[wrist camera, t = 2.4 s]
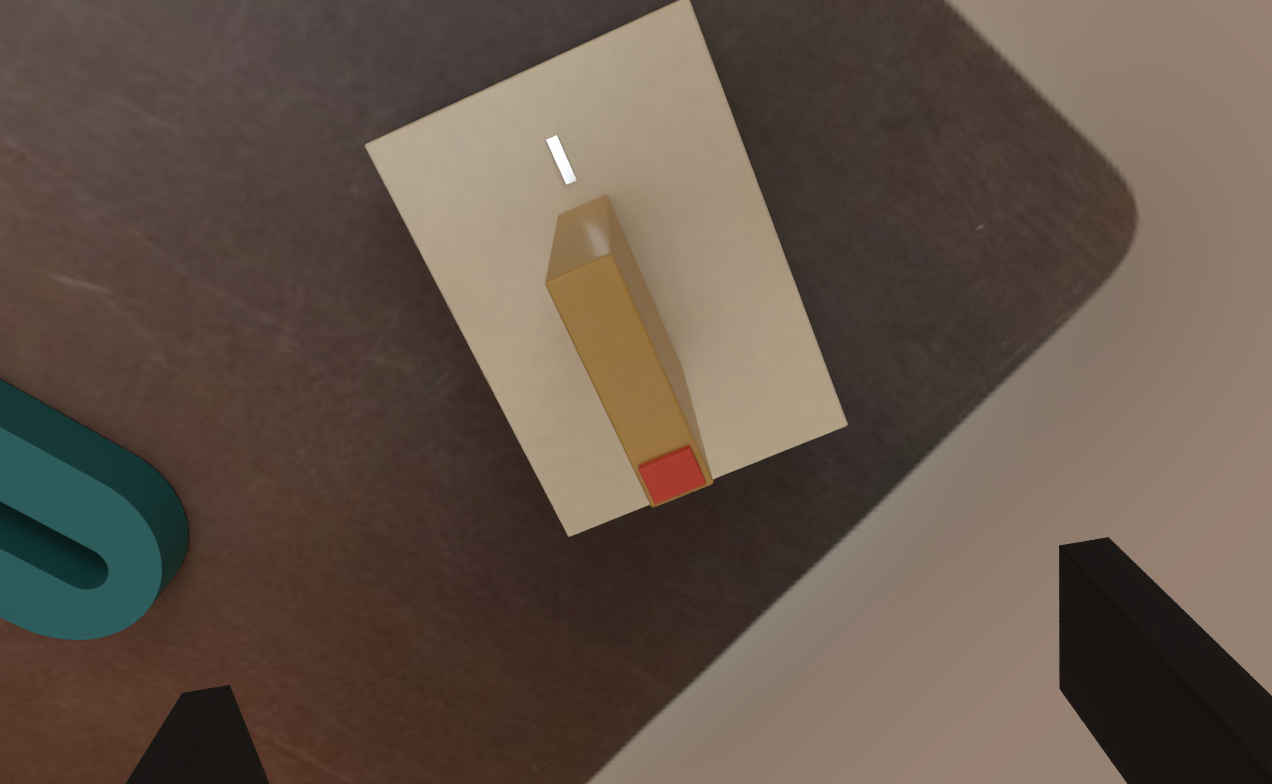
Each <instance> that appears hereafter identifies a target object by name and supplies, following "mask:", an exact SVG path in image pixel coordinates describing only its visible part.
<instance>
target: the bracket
mask: <svg viewBox="0 0 1272 784" xmlns="http://www.w3.org/2000/svg"><path fill="white" fill-rule="evenodd" d="M187 546H188V524H187V519H186V515H185V512H184V509H183V507H182V505H181V502H180V500H179V498H178V497H177V495H176V493H175V492H174V490H173V489H172V487H171V486H170V485H169V483H168V482H167V481H166V480H165V479H164V478H163V477H162V476H161V474H159V473H158V472H157V471H156V470H155V469H154V468H153V467H152V466H150V465H149V464H148V463H146V462H145V461H144V460H142V459H140V458H139V457H137V456H136V455H134V454H132V453H130V452H129V451H127V450H125V449H123V448H121V447H120V446H118V445H116V444H114V443H113V442H111V441H109V440H107V439H105V438H104V437H102V436H100V435H98V434H97V433H95V432H93V431H91V430H89V429H88V428H86V427H84V426H82V425H81V424H79V423H77V422H75V421H73V420H72V419H70V418H68V417H66V416H65V415H63V414H61V413H59V412H58V411H56V410H54V409H52V408H50V407H49V406H47V405H45V404H43V403H42V402H40V401H38V400H36V399H34V398H33V397H31V396H29V395H27V394H26V393H24V392H22V391H20V390H18V389H17V388H15V387H13V386H11V385H10V384H8V383H6V382H4V381H2V380H1V379H0V617H1V618H3V619H5V620H7V621H9V622H11V623H13V624H15V625H17V626H19V627H21V628H24V629H26V630H28V631H31V632H34V633H37V634H40V635H44V636H48V637H53V638H58V639H67V640H86V639H95V638H100V637H105V636H108V635H112V634H114V633H117V632H119V631H121V630H123V629H125V628H127V627H129V626H130V625H132V624H133V623H135V622H136V621H137V620H138V619H139V618H141V617H142V616H143V615H144V614H145V613H146V611H147V610H148V609H149V608H150V607H151V605H152V604H153V603H154V601H155V600H156V599H157V597H158V596H159V595H160V594H161V592H162V591H163V590H164V588H165V587H166V586H167V585H168V583H169V582H170V581H171V579H172V578H173V577H174V576H175V574H176V573H177V571H178V570H179V568H180V567H181V565H182V562H183V560H184V558H185V555H186V552H187Z"/></svg>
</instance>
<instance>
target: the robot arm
mask: <svg viewBox="0 0 1272 784" xmlns="http://www.w3.org/2000/svg"><path fill="white" fill-rule="evenodd" d="M1059 643H1060V644H1059V649H1060V650H1059V652H1060V655H1059V656H1060V657H1059V658H1060V659H1059V660H1060V661H1059V662H1060V664H1059V666H1060V667H1059V669H1060V670H1059V671H1060V673H1059V674H1060V690H1061V691H1062V693H1063V694H1064V696H1065V697H1066V699H1067V700H1068V701H1069V703H1070V704H1071V706H1072V707H1073V708H1074V710H1075V711H1076V712H1077V714H1078V715H1079V717H1080V718H1081V720H1082V721H1083V722H1084V723H1085V725H1086V726H1087V728H1088V729H1089V731H1090V732H1091V733H1092V735H1093V736H1094V737H1095V739H1096V741H1097V742H1098V743H1099V745H1100V746H1101V748H1102V749H1103V750H1104V752H1105V753H1106V755H1107V756H1108V757H1109V759H1110V760H1111V762H1112V763H1113V764H1114V766H1115V767H1116V769H1117V770H1118V771H1119V773H1120V774H1121V775H1122V777H1123V778H1124V780H1125V781H1126V782H1127V784H1272V696H1271V695H1270V694H1269V693H1268V692H1267V691H1266V690H1265V689H1264V688H1263V687H1262V686H1261V685H1260V684H1259V683H1258V682H1257V681H1256V680H1255V679H1254V678H1253V677H1252V676H1250V674H1249V673H1248V672H1247V671H1245V669H1243V668H1242V667H1241V666H1240V665H1239V664H1238V663H1237V662H1236V661H1235V660H1234V659H1233V658H1232V657H1231V656H1230V655H1229V654H1228V653H1227V652H1226V651H1225V650H1224V649H1223V648H1222V647H1221V646H1220V645H1219V644H1218V643H1217V642H1216V641H1215V640H1213V638H1211V636H1209V634H1207V633H1206V632H1205V631H1204V630H1203V629H1202V628H1201V627H1200V626H1199V625H1198V624H1197V623H1196V622H1195V621H1194V620H1193V619H1192V618H1191V617H1190V616H1189V615H1188V614H1187V613H1186V612H1185V611H1184V610H1183V609H1182V608H1181V607H1180V606H1179V605H1178V604H1177V603H1175V601H1173V599H1171V598H1170V597H1169V596H1168V595H1167V594H1166V593H1165V592H1164V591H1163V590H1162V589H1161V588H1160V587H1159V586H1158V585H1157V584H1156V583H1155V582H1154V581H1153V580H1152V579H1151V578H1150V577H1149V576H1148V575H1147V574H1146V573H1145V572H1144V571H1143V570H1141V568H1140V567H1139V566H1137V564H1135V563H1134V562H1133V561H1132V560H1131V559H1130V558H1129V557H1128V556H1127V555H1126V554H1125V553H1124V552H1123V551H1122V550H1121V549H1120V548H1119V547H1118V546H1117V545H1116V544H1115V543H1114V542H1113V541H1112V540H1111V539H1110V538H1109V537H1107V538H1101V539H1095V540H1089V541H1084V542H1077V543H1071V544H1066V545H1059ZM126 784H269V782H268V779H267V777H266V774H265V772H264V769H263V767H262V764H261V762H260V759H259V757H258V754H257V752H256V749H255V747H254V744H253V742H252V739H251V737H250V734H249V732H248V729H247V727H246V724H245V722H244V719H243V717H242V714H241V712H240V709H239V707H238V704H237V702H236V699H235V697H234V694H233V692H232V689H231V687H230V685H227V686H221V687H215V688H209V689H203V690H197V691H191V692H185V693H182V694H181V696H180V697H179V699H178V701H177V702H176V704H175V705H174V707H173V709H172V710H171V712H170V713H169V715H168V717H167V718H166V720H165V721H164V723H163V725H162V726H161V728H160V729H159V731H158V733H157V734H156V736H155V737H154V739H153V741H152V742H151V744H150V745H149V747H148V749H147V750H146V752H145V753H144V755H143V757H142V758H141V760H140V762H139V763H138V765H137V766H136V768H135V770H134V771H133V773H132V774H131V776H130V778H129V779H128V781H127V782H126Z"/></svg>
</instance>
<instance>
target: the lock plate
mask: <svg viewBox="0 0 1272 784" xmlns="http://www.w3.org/2000/svg"><path fill="white" fill-rule="evenodd" d="M365 148H366V150H367V151H368V153H369V155H370V157H371V159H372V161H373V163H374V165H375V167H376V169H377V171H378V173H379V174H380V176H381V178H382V180H383V182H384V184H385V186H386V188H387V190H388V192H389V194H390V196H391V197H392V199H393V201H394V203H395V205H396V207H397V209H398V211H399V213H400V215H401V217H402V219H403V220H404V222H405V224H406V226H407V228H408V230H409V232H410V234H411V236H412V238H413V240H414V242H415V244H416V245H417V247H418V249H419V251H420V253H421V255H422V257H423V259H424V261H425V263H426V265H427V267H428V268H429V270H430V272H431V274H432V276H433V278H434V280H435V282H436V284H437V286H438V288H439V290H440V291H441V293H442V295H443V297H444V299H445V301H446V303H447V305H448V307H449V309H450V311H451V313H452V314H453V316H454V318H455V320H456V322H457V324H458V326H459V328H460V330H461V332H462V334H463V336H464V337H465V339H466V341H467V343H468V345H469V347H470V349H471V351H472V353H473V355H474V357H475V359H476V360H477V362H478V364H479V366H480V368H481V370H482V372H483V374H484V376H485V378H486V380H487V382H488V383H489V385H490V387H491V389H492V391H493V393H494V395H495V397H496V399H497V401H498V403H499V405H500V406H501V408H502V410H503V412H504V414H505V416H506V418H507V420H508V422H509V424H510V426H511V428H512V429H513V431H514V433H515V435H516V437H517V439H518V441H519V443H520V445H521V447H522V449H523V451H524V452H525V454H526V456H527V458H528V460H529V462H530V464H531V466H532V468H533V470H534V472H535V474H536V475H537V477H538V479H539V481H540V483H541V485H542V487H543V489H544V491H545V493H546V495H547V497H548V498H549V500H550V502H551V504H552V506H553V508H554V510H555V512H556V514H557V516H558V518H559V520H560V521H561V523H562V525H563V527H564V529H565V531H566V533H567V535H568V536H569V537H570V536H573V535H575V534H578V533H580V532H583V531H585V530H588V529H590V528H593V527H595V526H598V525H600V524H603V523H605V522H608V521H610V520H613V519H615V518H618V517H620V516H623V515H625V514H628V513H630V512H633V511H635V510H638V509H640V508H643V507H645V506H648V505H650V503H649V501H648V499H647V497H646V495H645V493H644V491H643V489H642V487H641V485H640V482H639V480H638V478H637V476H636V474H635V472H634V470H633V468H632V466H631V464H630V461H629V459H628V457H627V455H626V453H625V451H624V449H623V447H622V445H621V443H620V441H619V438H618V436H617V434H616V432H615V430H614V428H613V426H612V424H611V422H610V420H609V417H608V415H607V413H606V411H605V409H604V407H603V405H602V403H601V401H600V399H599V396H598V394H597V392H596V390H595V388H594V386H593V384H592V382H591V380H590V378H589V375H588V373H587V371H586V369H585V367H584V365H583V363H582V361H581V359H580V357H579V355H578V352H577V350H576V348H575V346H574V344H573V342H572V340H571V338H570V336H569V334H568V331H567V329H566V327H565V325H564V323H563V321H562V319H561V317H560V315H559V313H558V310H557V308H556V306H555V304H554V302H553V300H552V298H551V296H550V294H549V292H548V289H547V287H546V285H545V281H546V275H547V270H548V265H549V260H550V254H551V249H552V244H553V239H554V234H555V228H556V223H557V218H558V215H560V214H562V213H564V212H567V211H569V210H571V209H574V208H576V207H578V206H580V205H583V204H585V203H587V202H590V201H592V200H594V199H596V198H599V197H601V196H603V195H607V196H608V198H609V200H610V203H611V205H612V207H613V209H614V212H615V214H616V216H617V219H618V221H619V223H620V226H621V228H622V230H623V232H624V235H625V237H626V239H627V242H628V244H629V246H630V249H631V251H632V253H633V255H634V258H635V260H636V262H637V265H638V267H639V269H640V272H641V274H642V276H643V278H644V281H645V283H646V285H647V288H648V290H649V292H650V295H651V297H652V299H653V301H654V304H655V306H656V308H657V311H658V313H659V315H660V318H661V320H662V322H663V324H664V327H665V329H666V331H667V334H668V336H669V338H670V341H671V343H672V345H673V347H674V350H675V352H676V354H677V357H678V359H679V361H680V364H681V366H682V368H683V371H684V375H685V379H686V382H687V386H688V390H689V393H690V397H691V401H692V404H693V408H694V412H695V415H696V419H697V423H698V426H699V430H700V434H701V438H702V441H703V445H704V449H705V452H706V456H707V460H708V463H709V467H710V471H711V474H712V478H713V479H715V478H718V477H720V476H723V475H725V474H728V473H730V472H733V471H735V470H738V469H740V468H743V467H745V466H748V465H750V464H753V463H755V462H758V461H760V460H763V459H765V458H768V457H770V456H773V455H775V454H778V453H780V452H783V451H785V450H788V449H790V448H793V447H795V446H798V445H800V444H803V443H805V442H808V441H810V440H813V439H815V438H818V437H820V436H823V435H825V434H828V433H830V432H833V431H835V430H838V429H840V428H843V427H845V426H847V421H846V418H845V416H844V413H843V410H842V408H841V405H840V402H839V400H838V397H837V394H836V391H835V389H834V386H833V383H832V381H831V378H830V375H829V373H828V370H827V367H826V365H825V362H824V359H823V357H822V354H821V351H820V349H819V346H818V343H817V341H816V338H815V335H814V332H813V330H812V327H811V324H810V322H809V319H808V316H807V314H806V311H805V308H804V306H803V303H802V300H801V298H800V295H799V292H798V290H797V287H796V284H795V281H794V279H793V276H792V273H791V271H790V268H789V265H788V263H787V260H786V257H785V255H784V252H783V249H782V247H781V244H780V241H779V239H778V236H777V233H776V230H775V228H774V225H773V222H772V220H771V217H770V214H769V212H768V209H767V206H766V204H765V201H764V198H763V196H762V193H761V190H760V188H759V185H758V182H757V180H756V177H755V174H754V171H753V169H752V166H751V163H750V161H749V158H748V155H747V153H746V150H745V147H744V145H743V142H742V139H741V137H740V134H739V131H738V129H737V126H736V123H735V120H734V118H733V115H732V112H731V110H730V107H729V104H728V102H727V99H726V96H725V94H724V91H723V88H722V86H721V83H720V80H719V78H718V75H717V72H716V69H715V67H714V64H713V61H712V59H711V56H710V53H709V51H708V48H707V45H706V43H705V40H704V37H703V35H702V32H701V29H700V27H699V24H698V21H697V18H696V16H695V13H694V10H693V8H692V5H691V2H690V0H678V1H676V2H673V3H671V4H669V5H667V6H665V7H662V8H660V9H658V10H656V11H654V12H652V13H649V14H647V15H645V16H643V17H641V18H638V19H636V20H634V21H632V22H630V23H628V24H625V25H623V26H621V27H619V28H617V29H615V30H612V31H610V32H608V33H606V34H604V35H601V36H599V37H597V38H595V39H593V40H591V41H588V42H586V43H584V44H582V45H580V46H577V47H575V48H573V49H571V50H569V51H567V52H564V53H562V54H560V55H558V56H556V57H554V58H551V59H549V60H547V61H545V62H543V63H540V64H538V65H536V66H534V67H532V68H530V69H527V70H525V71H523V72H521V73H519V74H516V75H514V76H512V77H510V78H508V79H506V80H503V81H501V82H499V83H497V84H495V85H493V86H490V87H488V88H486V89H484V90H482V91H479V92H477V93H475V94H473V95H471V96H469V97H466V98H464V99H462V100H460V101H458V102H455V103H453V104H451V105H449V106H447V107H445V108H442V109H440V110H438V111H436V112H434V113H432V114H429V115H427V116H425V117H423V118H421V119H418V120H416V121H414V122H412V123H410V124H408V125H405V126H403V127H401V128H399V129H397V130H394V131H392V132H390V133H388V134H386V135H384V136H382V137H380V138H377V139H375V140H373V141H371V142H369V143H367V144H366V145H365Z"/></svg>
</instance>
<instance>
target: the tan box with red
mask: <svg viewBox="0 0 1272 784" xmlns="http://www.w3.org/2000/svg"><path fill="white" fill-rule="evenodd" d="M545 285H546V287H547V289H548V292H549V294H550V296H551V298H552V300H553V302H554V304H555V306H556V308H557V310H558V313H559V315H560V317H561V319H562V321H563V323H564V325H565V327H566V329H567V331H568V334H569V336H570V338H571V340H572V342H573V344H574V346H575V348H576V350H577V352H578V355H579V357H580V359H581V361H582V363H583V365H584V367H585V369H586V371H587V373H588V375H589V378H590V380H591V382H592V384H593V386H594V388H595V390H596V392H597V394H598V396H599V399H600V401H601V403H602V405H603V407H604V409H605V411H606V413H607V415H608V417H609V420H610V422H611V424H612V426H613V428H614V430H615V432H616V434H617V436H618V438H619V441H620V443H621V445H622V447H623V449H624V451H625V453H626V455H627V457H628V459H629V461H630V464H631V466H632V468H633V470H634V472H635V474H636V476H637V478H638V480H639V482H640V485H641V487H642V489H643V491H644V493H645V495H646V497H647V499H648V501H649V503H650V506H651V507H656V506H659V505H661V504H664V503H666V502H669V501H671V500H674V499H676V498H679V497H681V496H684V495H686V494H689V493H691V492H694V491H696V490H699V489H701V488H704V487H706V486H709V485H711V484H713V478H712V474H711V471H710V467H709V463H708V460H707V456H706V452H705V449H704V445H703V441H702V438H701V434H700V430H699V426H698V423H697V419H696V415H695V412H694V408H693V404H692V401H691V397H690V393H689V390H688V386H687V382H686V379H685V375H684V371H683V368H682V366H681V364H680V361H679V359H678V357H677V354H676V352H675V350H674V347H673V345H672V343H671V341H670V338H669V336H668V334H667V331H666V329H665V327H664V324H663V322H662V320H661V318H660V315H659V313H658V311H657V308H656V306H655V304H654V301H653V299H652V297H651V295H650V292H649V290H648V288H647V285H646V283H645V281H644V278H643V276H642V274H641V272H640V269H639V267H638V265H637V262H636V260H635V258H634V255H633V253H632V251H631V249H630V246H629V244H628V242H627V239H626V237H625V235H624V232H623V230H622V228H621V226H620V223H619V221H618V219H617V216H616V214H615V212H614V209H613V207H612V205H611V203H610V200H609V198H608V196H607V195H603V196H601V197H599V198H596V199H594V200H592V201H590V202H587V203H585V204H583V205H580V206H578V207H576V208H574V209H571V210H569V211H567V212H564V213H562V214H560V215H558V218H557V223H556V228H555V234H554V239H553V244H552V249H551V254H550V260H549V265H548V270H547V275H546V281H545Z"/></svg>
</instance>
